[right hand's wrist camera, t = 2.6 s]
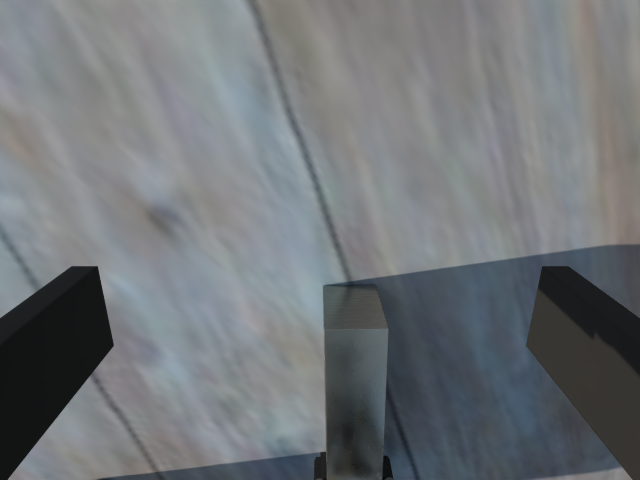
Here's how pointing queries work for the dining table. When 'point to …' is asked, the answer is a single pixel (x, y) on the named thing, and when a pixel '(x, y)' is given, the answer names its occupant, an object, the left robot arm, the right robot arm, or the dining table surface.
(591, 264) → the dining table surface
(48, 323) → the right robot arm
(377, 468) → the box
